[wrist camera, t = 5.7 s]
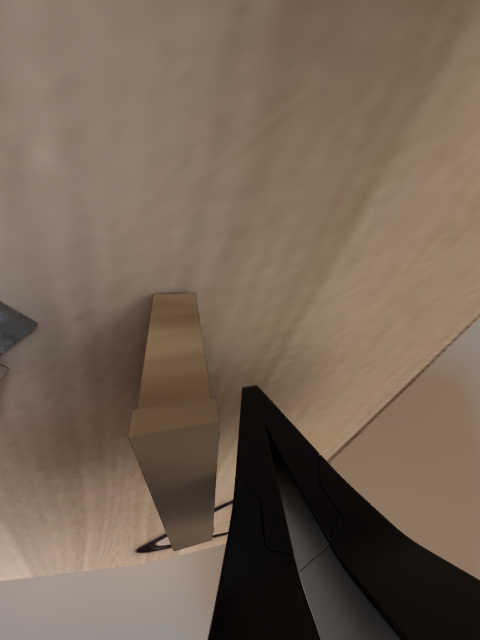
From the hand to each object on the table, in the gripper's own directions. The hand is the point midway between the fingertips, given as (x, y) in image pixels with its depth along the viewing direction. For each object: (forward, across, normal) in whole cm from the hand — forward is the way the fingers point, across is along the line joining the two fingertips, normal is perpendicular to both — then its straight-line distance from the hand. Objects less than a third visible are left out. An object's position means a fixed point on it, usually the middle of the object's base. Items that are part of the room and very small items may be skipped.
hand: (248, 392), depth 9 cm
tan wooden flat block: (+3, +3, +2) cm, 4 cm away
